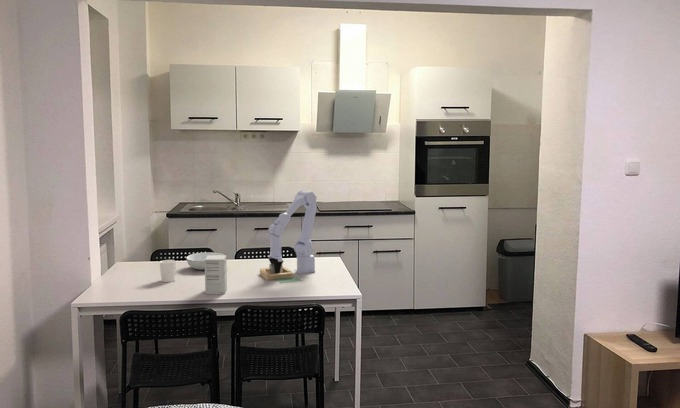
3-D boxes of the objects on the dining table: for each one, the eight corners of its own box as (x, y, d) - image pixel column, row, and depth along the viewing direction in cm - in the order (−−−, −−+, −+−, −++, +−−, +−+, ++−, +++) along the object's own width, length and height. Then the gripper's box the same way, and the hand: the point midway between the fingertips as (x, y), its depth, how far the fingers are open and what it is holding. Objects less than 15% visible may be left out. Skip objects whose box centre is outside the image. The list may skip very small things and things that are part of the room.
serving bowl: (178, 270, 309) (178, 258, 309) (201, 262, 329) (201, 251, 328) (210, 274, 302) (210, 261, 301) (232, 265, 321) (231, 254, 320)
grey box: (280, 274, 300) (280, 263, 299) (282, 276, 296) (282, 264, 296) (269, 275, 297) (269, 264, 297) (271, 277, 294) (271, 265, 293)
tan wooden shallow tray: (283, 271, 308) (283, 265, 307) (294, 278, 292) (294, 272, 292) (258, 274, 302) (258, 268, 301) (268, 281, 286) (268, 275, 286)
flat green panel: (296, 277, 295) (296, 276, 295) (302, 281, 287) (302, 280, 287) (274, 279, 290) (274, 279, 290) (280, 284, 282) (280, 283, 282)
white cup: (179, 279, 291) (178, 260, 290) (170, 283, 283) (169, 263, 282) (166, 278, 293) (165, 259, 292) (157, 281, 286) (156, 262, 285)
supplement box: (208, 289, 273) (207, 255, 271) (227, 288, 274) (226, 254, 272) (205, 294, 263) (204, 259, 261) (225, 294, 264) (224, 259, 262)
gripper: (264, 245, 300) (264, 270, 302) (272, 250, 287) (273, 276, 288) (276, 244, 303) (277, 268, 304) (285, 249, 290) (286, 274, 291)
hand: (276, 272), depth 297 cm, fingers closed on grey box, 4 cm apart
